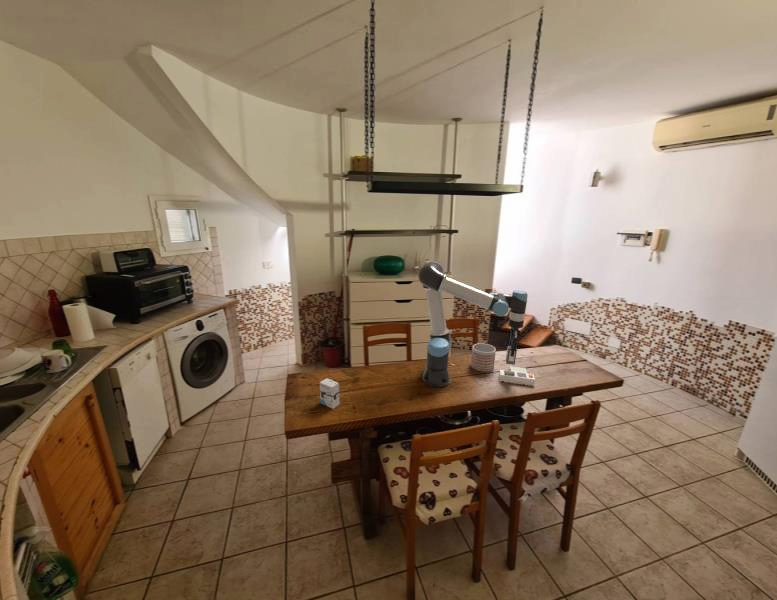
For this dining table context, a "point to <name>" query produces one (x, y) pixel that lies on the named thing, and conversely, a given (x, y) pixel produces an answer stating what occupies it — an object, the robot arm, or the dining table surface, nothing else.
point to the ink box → (329, 393)
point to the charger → (508, 356)
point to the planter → (483, 357)
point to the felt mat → (518, 369)
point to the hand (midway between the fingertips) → (510, 358)
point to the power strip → (517, 377)
